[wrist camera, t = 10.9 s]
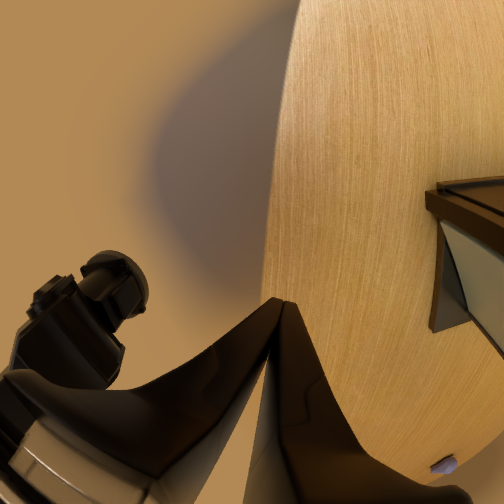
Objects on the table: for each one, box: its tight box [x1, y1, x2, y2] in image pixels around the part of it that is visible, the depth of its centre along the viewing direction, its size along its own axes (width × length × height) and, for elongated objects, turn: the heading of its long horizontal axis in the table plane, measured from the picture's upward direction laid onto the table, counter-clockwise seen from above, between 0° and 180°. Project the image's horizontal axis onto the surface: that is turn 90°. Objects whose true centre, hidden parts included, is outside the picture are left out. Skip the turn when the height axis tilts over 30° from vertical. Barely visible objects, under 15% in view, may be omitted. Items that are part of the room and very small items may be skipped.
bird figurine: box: [431, 457, 457, 474], centre depth 38 cm, size 8×6×6 cm
